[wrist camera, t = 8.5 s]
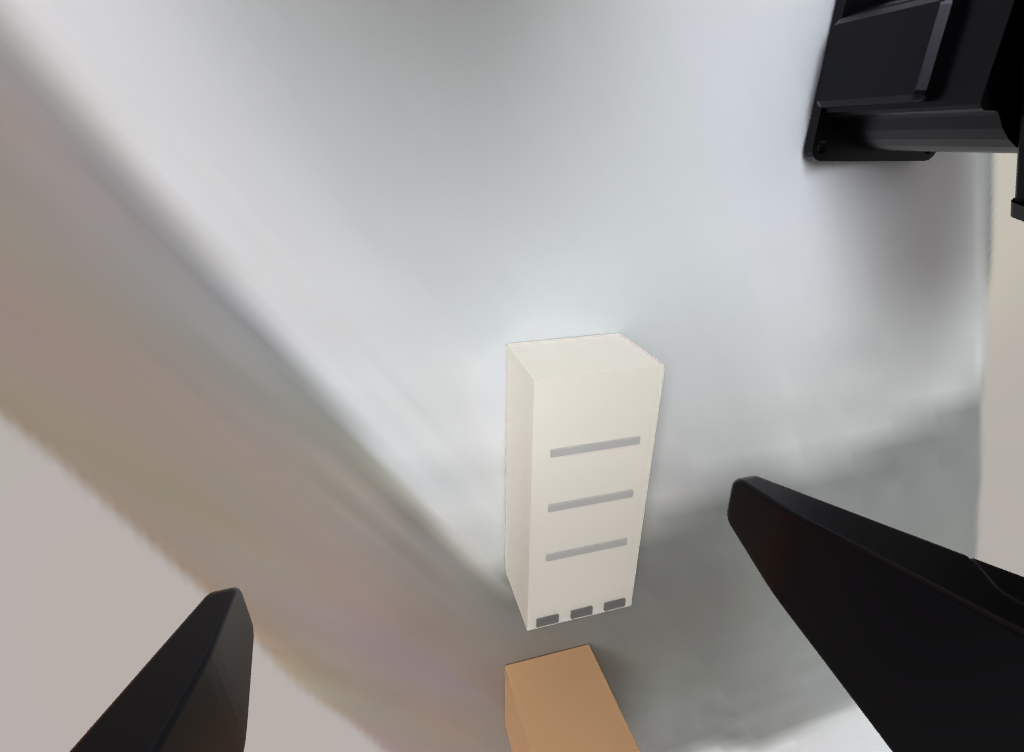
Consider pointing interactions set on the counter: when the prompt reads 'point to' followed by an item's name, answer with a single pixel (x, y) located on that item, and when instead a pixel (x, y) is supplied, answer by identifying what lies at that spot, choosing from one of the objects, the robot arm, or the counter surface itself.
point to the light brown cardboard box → (563, 706)
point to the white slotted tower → (577, 472)
